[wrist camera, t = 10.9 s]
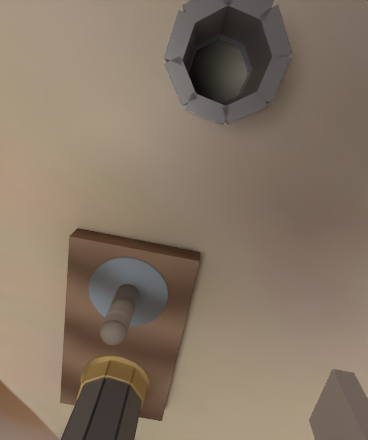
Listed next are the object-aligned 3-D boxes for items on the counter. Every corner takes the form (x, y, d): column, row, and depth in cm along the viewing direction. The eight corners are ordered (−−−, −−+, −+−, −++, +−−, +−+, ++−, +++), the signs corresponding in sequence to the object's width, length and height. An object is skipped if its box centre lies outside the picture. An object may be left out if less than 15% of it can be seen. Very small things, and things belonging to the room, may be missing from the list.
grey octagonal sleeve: (243, 5, 18) (268, -49, 12) (273, 96, 20) (308, 92, 14) (161, 49, 19) (141, 21, 13) (195, 132, 21) (193, 144, 15)
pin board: (77, 228, 24) (33, 272, 18) (199, 252, 24) (199, 304, 18) (66, 389, 31) (31, 463, 24) (163, 406, 31) (153, 484, 25)
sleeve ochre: (126, 353, 26) (102, 435, 20) (155, 397, 28) (142, 485, 22) (73, 372, 28) (33, 455, 21) (104, 412, 29) (76, 501, 23)
